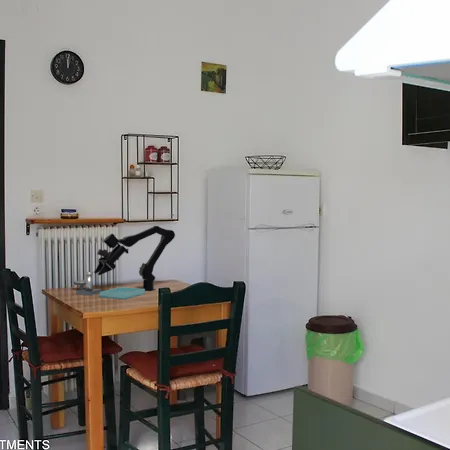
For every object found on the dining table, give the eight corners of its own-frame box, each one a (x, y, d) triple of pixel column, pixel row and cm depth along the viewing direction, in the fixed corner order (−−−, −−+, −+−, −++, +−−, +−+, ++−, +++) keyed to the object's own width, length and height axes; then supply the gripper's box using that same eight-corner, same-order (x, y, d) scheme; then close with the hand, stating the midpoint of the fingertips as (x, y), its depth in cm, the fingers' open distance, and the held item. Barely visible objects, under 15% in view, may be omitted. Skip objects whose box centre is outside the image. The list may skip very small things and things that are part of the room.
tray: (120, 292, 327) (120, 287, 327) (144, 294, 321) (144, 288, 321) (99, 297, 309) (99, 291, 309) (124, 299, 303) (124, 293, 303)
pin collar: (87, 291, 328) (87, 288, 328) (101, 293, 324) (101, 289, 324) (76, 294, 319) (76, 290, 319) (90, 295, 315) (90, 291, 315)
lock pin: (88, 292, 325) (88, 271, 324) (94, 293, 323) (94, 272, 322) (83, 294, 320) (83, 272, 320) (89, 294, 319) (89, 273, 318)
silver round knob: (79, 288, 342) (79, 279, 341) (91, 289, 338) (91, 280, 338) (70, 290, 334) (70, 281, 334) (82, 291, 330) (82, 282, 330)
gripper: (102, 243, 333) (82, 262, 329) (110, 245, 316) (90, 265, 312) (115, 256, 337) (96, 275, 332) (124, 259, 320) (104, 279, 316)
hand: (96, 273), depth 323 cm, fingers open, 9 cm apart
